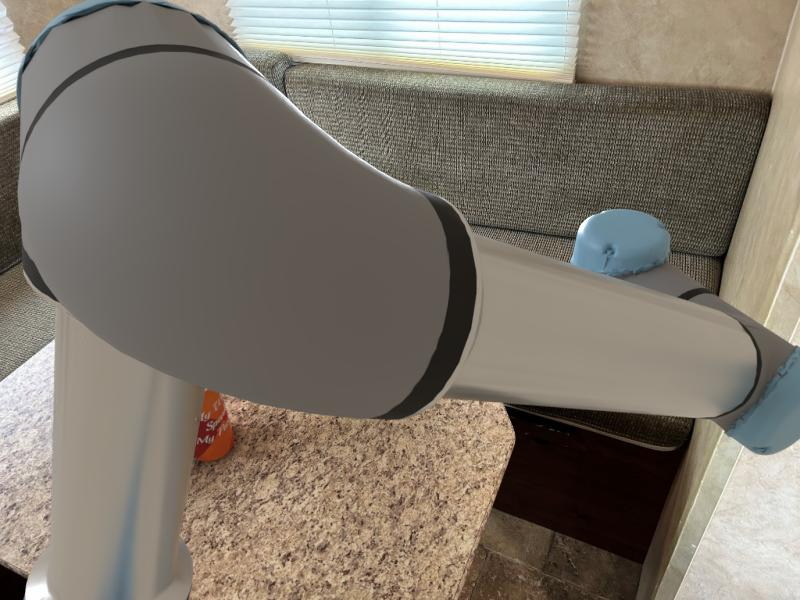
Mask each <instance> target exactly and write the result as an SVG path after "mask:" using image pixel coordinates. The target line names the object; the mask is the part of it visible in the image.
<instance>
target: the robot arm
mask: <svg viewBox="0 0 800 600" xmlns="http://www.w3.org/2000/svg"><path fill="white" fill-rule="evenodd" d="M15 89H16V90H15V94H16V106H17V109H18V114H19V118H20V119H19V120H20V121H19V122H20V126H19V129H20V130H19V131H20V132H19V172H18V173H19V174H18V182H17V203H18V215H19V219H20V225H21V262H22V263H21V264H22V265H21V266H22V272H23V276H24V278H25V280H26V282H27V284H28V285H29V286H30V287H31V289H32V290H33V291H34V293H36V294H37V295H38V296H39V297H41V298H42V299H43V300H45V301H46V302H47V303H49V304H51V305H52V306H54V307H55V312H54V315H55V316H54V317H55V318H54V324H55V325H54V355H53V356H54V359H53V360H54V361H53V362H54V364H53V372H54V373H53V405H52V407H53V409H52V424H53V446H52V452H51V453H52V454H51V456H52V457H51V494H50V495H51V498H50V500H51V501H50V540H49V541H50V543H49V544H48V546H45V548H44V550H42V552H41V553H40V555H39V556H38V557H37V559H36V561H35V562H34V564H33V566H32V568H31V570H30V572H29V574H28V577H27V579H26V580H27V581H26V585H25V593H24V597H23V600H190V596H191V591H192V585H193V578H194V561H193V558H192V554H191V552H190V549H189V547H188V545H187V544H186V542H185V540H184V538H182V536H181V532H182V528H183V521H184V517H185V516H184V515H185V510H186V505H187V498H188V492H189V488H190V487H189V485H190V480H191V474H192V469H193V463H194V459H195V458H194V457H195V456H194V452H195V446H196V441H197V435H198V429H199V423H200V417H201V412H202V406H203V400H204V394H205V389H208V390H211V391H214V392H218V393H221V394H222V395H225V396H227V397H232V398H236V399H240V400H244V401H247V402H250V403H253V404H258V405H261V406H266V407H272V408H278V409H284V410H288V411H293V412H298V413H305V414H310V415H319V416H326V417H327V416H328V417H336V418H345V419H356V420H381V421H382V420H385V421H401V420H408V419H411V418H414V417H416V416H419V415H421V414H422V413H424V412H426V411H427V410H429V409H431V408H433V406H434V405H435V404H436V403H437V402H439V401H440V400H441V399H446V400H447V399H448V400H460V401H471V402H472V401H473V402H486V403H499V404H511V405H524V406H538V407H550V408H561V409H575V410H588V411H600V412H601V411H603V412H616V413H626V414H641V415H651V416H653V415H654V416H665V417H666V416H667V417H676V418H677V417H679V418H691V419H701V420H702V419H703V420H708V421H709V420H710V421H712V422H713V423H715V424H716V425H717V426H718V427H720V428H721V429H722V431H724V432H723V434H725V435H726V436H727V437H729V438H732V439H733V440H735V441H736V442H738V444H740V445H742V446H743V447H744V448H746V449H747V450H748V451H750V452H751V453H754V454H755V455H759V456H771V455H776V454H778V453H780V452H782V451H784V450H787V448H789V447H791V446H792V445H794V444H796V443H797V442H798V441H799V440H800V346H799V345H797V344H795V345H793V344H792V343H791V342H789V341H788V340H785V339H784V338H783V337H781V336H779V335H778V334H776V333H775V332H773V331H772V330H770V329H768V327H766V326H764V325H763V324H761V323H759V321H757V320H754V319H753V318H752V317H751V316H749V315H747V314H746V313H744V312H742V310H739V309H738V308H736V307H735V306H734V305H732V304H730V303H729V302H727V301H725V300H724V299H722V298H721V297H719V296H718V295H717V294H716V293H715V292H713V291H711V289H709V288H707V287H706V286H704V285H703V284H701V283H700V282H699V281H698V280H696V279H694V278H693V277H691V276H690V275H688V274H687V273H685V272H684V271H682V270H681V269H679V268H678V267H676V266H675V265H673V264H671V263H670V262H669V261H668V260H669V257H670V254H671V253H672V252H671V234H670V233H669V231H668V230H667V228H666V227H665V224H664V222H662V221H661V220H660V219H658V218H656V217H655V216H653V215H651V214H648V213H646V212H643V211H640V210H634V209H628V208H627V209H625V208H615V209H607V210H603V211H601V212H600V213H595V214H593V215H590V216H589V217H587V218H586V219H585V220H584V221H583V222H582V223H581V224H580V225H579V227H578V230H577V232H576V238H575V242H574V243H575V244H574V247H573V252H572V256H571V258H570V259H569V262H567V261H563V260H560V259H557V258H553V257H550V256H548V255H544V254H541V253H538V252H534V251H532V250H529V249H525V248H522V247H519V246H516V245H512V244H509V243H506V242H503V241H500V240H497V239H493V238H490V237H487V236H484V235H480V234H477V233H474V232H473V231H472V228H471V225H470V224H469V222H468V221H467V219H466V218H465V216H464V215H463V213H462V212H461V211H460V210H459V209H458V208H457V207H456V206H455V205H454V204H453V203H452V202H450V201H448V200H447V199H446V198H444V197H442V196H439V195H437V194H434V193H432V192H428V191H425V190H422V189H420V188H416V187H414V186H411V185H409V184H406V183H404V182H403V181H400V180H398V179H396V178H395V177H392V176H390V175H389V174H386V173H385V172H383V171H381V170H379V169H378V168H376V167H375V166H373V165H372V164H370V163H369V162H367V161H366V160H364V159H362V158H361V157H359V156H358V155H356V154H355V153H353V152H351V150H349V149H347V148H346V147H344V146H343V145H342V144H341V143H339V141H337V140H336V139H335V138H334V137H332V136H331V135H329V133H327V132H326V131H325V130H324V129H322V128H321V127H319V125H318V124H316V123H315V122H314V121H312V120H311V119H310V118H309V117H307V116H306V115H305V114H304V113H303V112H302V111H301V110H300V109H299V108H298V107H297V106H296V105H295V104H294V103H293V102H292V101H291V100H290V99H289V98H288V97H286V96H285V95H284V94H283V93H282V92H281V91H280V90H278V89H277V87H276V86H274V85H273V83H271V81H269V80H268V79H267V78H266V77H265V76H264V75H263V74H262V73H261V72H260V71H259V70H258V68H256V67H255V66H254V65H253V64H252V62H251V61H250V60H249V58H248V57H247V55H246V53H245V52H244V51H243V49H242V48H241V47H240V45H239V44H238V43H237V42H236V40H235V39H233V38H232V36H231V35H229V34H228V33H227V32H225V31H224V30H222V28H221V27H219V26H218V24H216V23H214V22H213V21H211V20H208V18H206V17H205V16H203V15H201V14H199V13H195V12H193V11H190V10H188V9H187V8H185V7H182V6H180V5H179V4H178V5H177V4H175V3H173V2H170V1H167V0H84V1H82V2H79V3H77V4H74V5H73V6H71V7H69V8H67V9H65V10H64V11H62V12H61V13H60V14H58V15H57V16H56V17H55V18H53V19H52V20H51V21H50V22H48V23H47V25H46V26H45V27H44V28H43V29H42V30H41V31H40V33H39V34H38V35H37V36H36V38H35V39H34V40H33V41H32V42H31V43H30V45H29V48H28V50H27V52H26V54H24V56H22V60H21V63H20V65H19V68H18V71H17V78H16V87H15Z"/></svg>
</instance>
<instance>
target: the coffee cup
mask: <svg viewBox="0 0 800 600" xmlns="http://www.w3.org/2000/svg"><path fill="white" fill-rule="evenodd" d="M234 444H235V434H234V430H233V427H232V424H231V420H230V416H229V413H228V409H227V407H226V403H225V400H224V397H223V394H221V393H218V392H214V391H211V390H208V389H205V394H204V400H203V406H202V412H201V417H200V423H199V429H198V435H197V441H196V446H195V452H194V457H195V458H196V459H197V460H198V461H201V462H214V461H217V460H220V459H222V458H224V457H225V456H226V455H227V454H228V453H229V452H230V451H231V450H232V448H233V447H234Z"/></svg>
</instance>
